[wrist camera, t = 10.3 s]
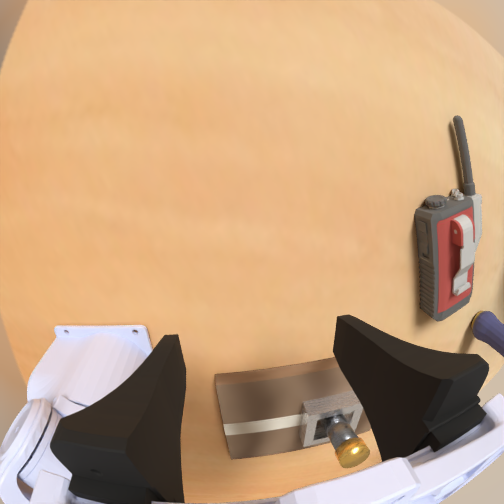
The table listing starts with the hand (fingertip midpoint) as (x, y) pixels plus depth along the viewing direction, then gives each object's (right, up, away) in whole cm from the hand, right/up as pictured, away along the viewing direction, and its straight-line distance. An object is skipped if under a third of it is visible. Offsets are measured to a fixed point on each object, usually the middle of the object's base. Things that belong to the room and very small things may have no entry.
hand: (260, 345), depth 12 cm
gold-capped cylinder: (+8, -13, +13) cm, 20 cm away
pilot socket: (+8, -13, +14) cm, 20 cm away
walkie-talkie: (+18, +7, +11) cm, 23 cm away
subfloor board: (+6, -13, +15) cm, 20 cm away
